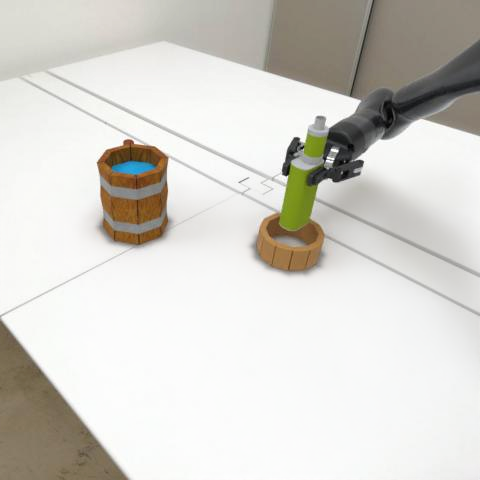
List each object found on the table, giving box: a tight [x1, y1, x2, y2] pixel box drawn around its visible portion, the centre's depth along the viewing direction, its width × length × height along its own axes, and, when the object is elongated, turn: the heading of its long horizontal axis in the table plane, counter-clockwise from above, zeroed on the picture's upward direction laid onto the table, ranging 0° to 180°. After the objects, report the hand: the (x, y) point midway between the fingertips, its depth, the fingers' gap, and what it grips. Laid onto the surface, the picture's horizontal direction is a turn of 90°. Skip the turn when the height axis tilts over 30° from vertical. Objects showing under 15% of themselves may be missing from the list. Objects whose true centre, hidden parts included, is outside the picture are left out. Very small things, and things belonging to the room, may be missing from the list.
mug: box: [96, 138, 169, 246], centre depth 92 cm, size 20×14×15 cm
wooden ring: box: [256, 212, 326, 272], centre depth 86 cm, size 12×12×5 cm
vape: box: [279, 115, 330, 231], centre depth 77 cm, size 4×6×20 cm, turn 128°
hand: (297, 175), depth 75 cm, fingers closed on vape, 4 cm apart
